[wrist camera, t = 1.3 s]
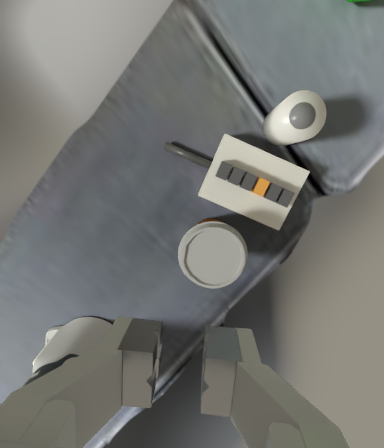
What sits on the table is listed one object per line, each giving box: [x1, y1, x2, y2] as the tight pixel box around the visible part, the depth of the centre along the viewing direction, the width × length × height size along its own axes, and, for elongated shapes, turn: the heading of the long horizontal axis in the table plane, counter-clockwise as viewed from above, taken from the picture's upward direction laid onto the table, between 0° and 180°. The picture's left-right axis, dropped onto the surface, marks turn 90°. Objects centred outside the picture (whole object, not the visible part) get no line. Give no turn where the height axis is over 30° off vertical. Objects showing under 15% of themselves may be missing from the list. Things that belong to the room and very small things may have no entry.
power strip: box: [164, 134, 310, 231], centre depth 41 cm, size 10×22×6 cm, turn 67°
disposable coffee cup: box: [178, 218, 248, 288], centre depth 40 cm, size 10×10×12 cm
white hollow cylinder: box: [263, 90, 326, 146], centre depth 37 cm, size 6×6×9 cm
